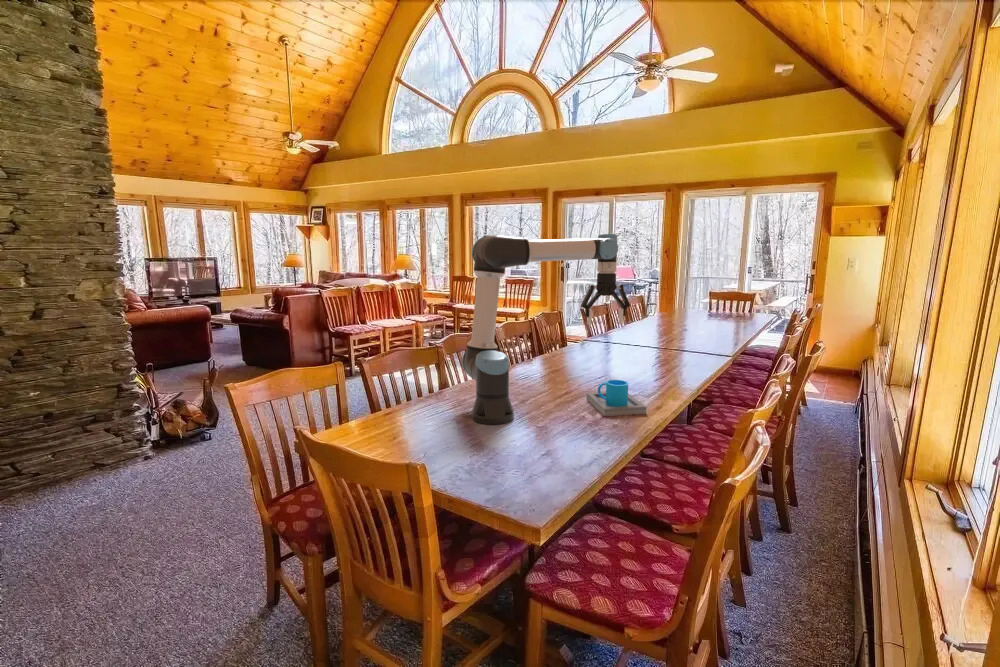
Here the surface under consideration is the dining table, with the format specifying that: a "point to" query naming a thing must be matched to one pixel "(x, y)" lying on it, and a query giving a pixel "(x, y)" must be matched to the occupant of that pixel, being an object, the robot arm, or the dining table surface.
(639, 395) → the dining table surface
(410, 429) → the dining table surface
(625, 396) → the mug
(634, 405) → the tray
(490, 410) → the robot arm
